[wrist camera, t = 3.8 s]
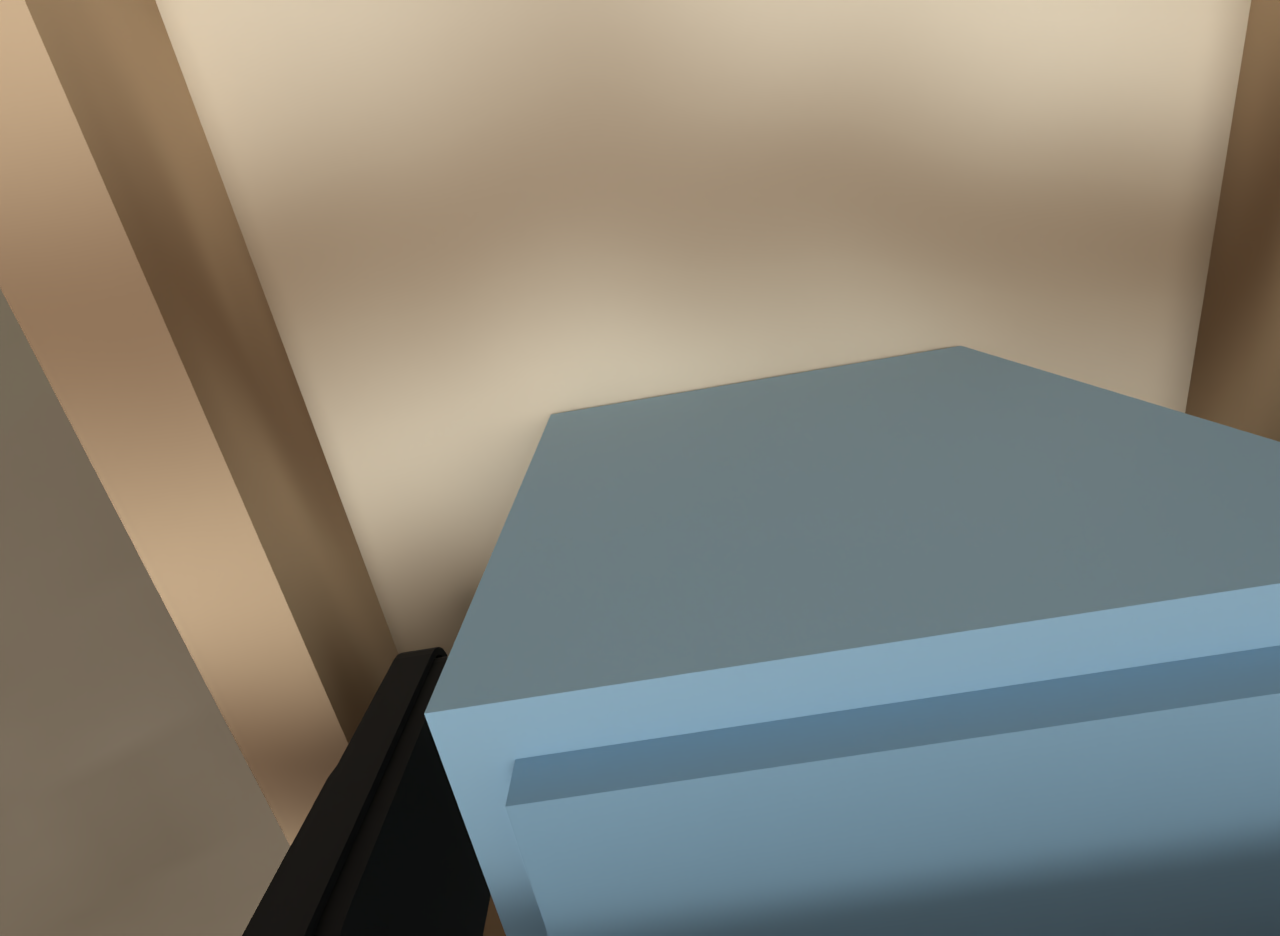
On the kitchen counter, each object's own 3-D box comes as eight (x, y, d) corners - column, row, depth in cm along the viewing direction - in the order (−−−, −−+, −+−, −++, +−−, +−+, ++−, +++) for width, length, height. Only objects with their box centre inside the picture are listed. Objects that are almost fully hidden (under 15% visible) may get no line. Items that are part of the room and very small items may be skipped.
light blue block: (951, 764, 11) (1302, 1321, 6) (639, 809, 12) (656, 1393, 6) (961, 345, 9) (1691, 564, 3) (550, 414, 9) (405, 757, 3)
